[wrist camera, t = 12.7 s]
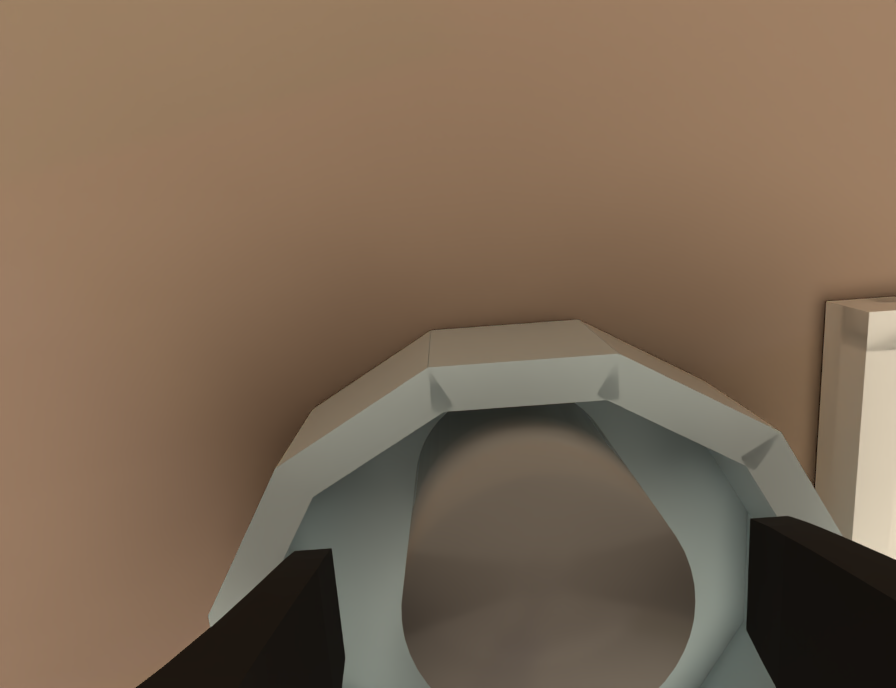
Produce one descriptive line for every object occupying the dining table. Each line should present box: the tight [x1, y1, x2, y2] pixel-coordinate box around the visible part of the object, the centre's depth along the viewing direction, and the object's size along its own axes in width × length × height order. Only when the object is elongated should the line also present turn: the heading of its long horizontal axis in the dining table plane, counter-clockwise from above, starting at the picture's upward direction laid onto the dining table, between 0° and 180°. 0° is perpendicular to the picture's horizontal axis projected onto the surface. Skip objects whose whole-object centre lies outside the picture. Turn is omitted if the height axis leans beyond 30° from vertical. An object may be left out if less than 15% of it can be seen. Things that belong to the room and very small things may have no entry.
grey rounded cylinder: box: [401, 402, 696, 688], centre depth 12 cm, size 4×4×5 cm
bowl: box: [208, 319, 842, 688], centre depth 13 cm, size 12×12×3 cm
